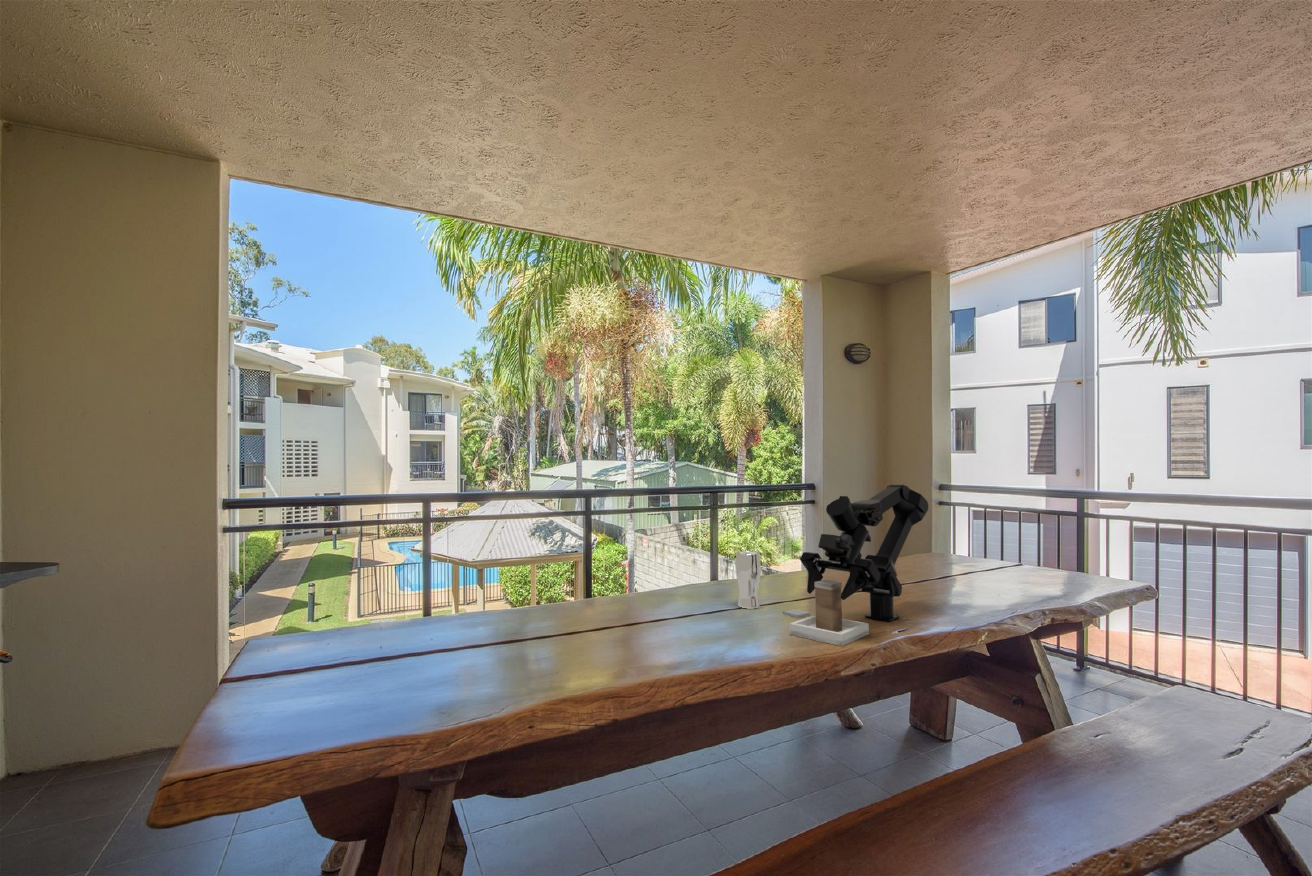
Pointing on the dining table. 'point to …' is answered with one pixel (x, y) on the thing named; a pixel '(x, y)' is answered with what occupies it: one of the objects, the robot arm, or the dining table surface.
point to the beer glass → (748, 578)
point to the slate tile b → (796, 613)
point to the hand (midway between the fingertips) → (824, 595)
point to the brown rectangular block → (828, 605)
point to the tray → (841, 638)
